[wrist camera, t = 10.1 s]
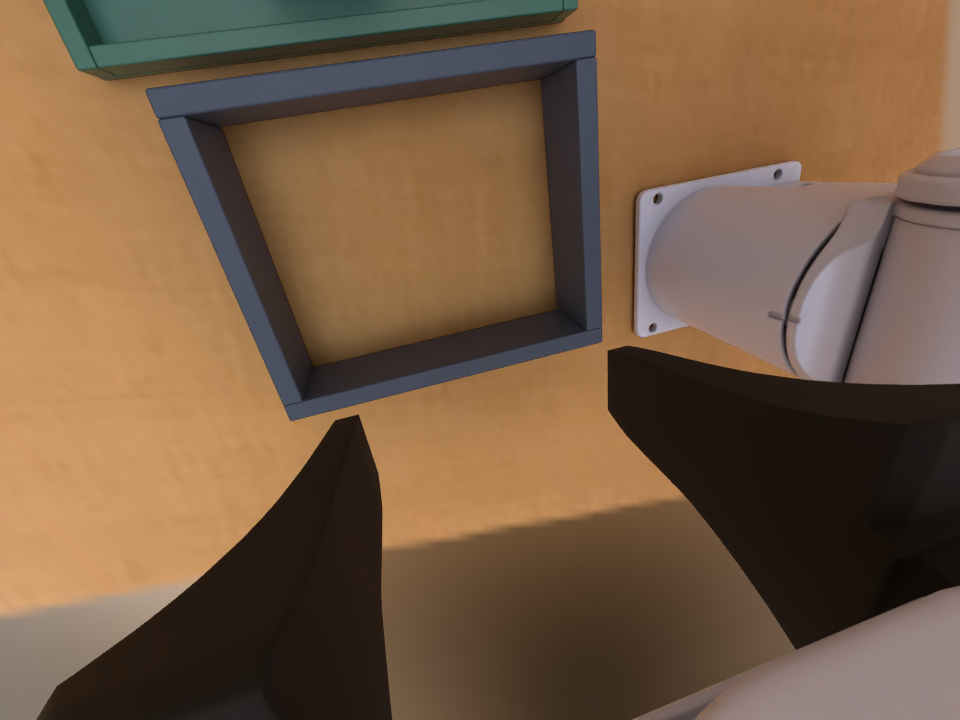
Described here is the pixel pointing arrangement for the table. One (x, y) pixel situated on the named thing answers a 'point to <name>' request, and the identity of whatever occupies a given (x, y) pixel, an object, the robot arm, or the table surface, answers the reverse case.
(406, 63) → the blue-grey rectangular frame
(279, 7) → the tray
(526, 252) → the table surface
